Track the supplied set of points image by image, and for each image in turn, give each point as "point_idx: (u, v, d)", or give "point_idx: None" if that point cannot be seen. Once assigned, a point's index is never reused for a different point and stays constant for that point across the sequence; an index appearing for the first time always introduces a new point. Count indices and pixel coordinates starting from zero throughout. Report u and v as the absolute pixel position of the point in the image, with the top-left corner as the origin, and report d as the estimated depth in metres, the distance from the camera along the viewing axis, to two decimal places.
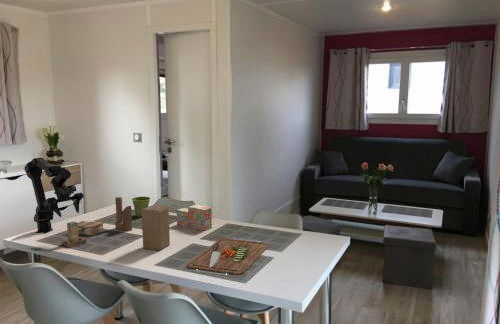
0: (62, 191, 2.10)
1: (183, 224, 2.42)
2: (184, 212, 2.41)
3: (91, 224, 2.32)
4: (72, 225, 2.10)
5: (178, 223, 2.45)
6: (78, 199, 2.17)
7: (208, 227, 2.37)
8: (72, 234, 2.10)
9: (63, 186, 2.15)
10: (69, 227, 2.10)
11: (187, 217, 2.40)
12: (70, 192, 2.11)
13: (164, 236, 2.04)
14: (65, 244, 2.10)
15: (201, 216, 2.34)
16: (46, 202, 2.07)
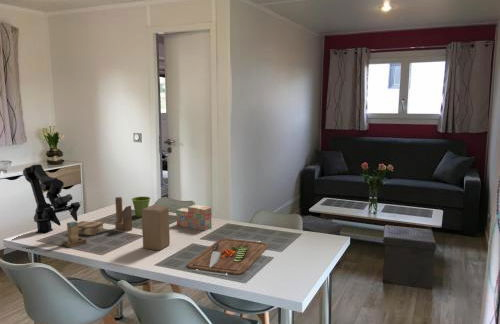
0: (58, 200, 2.12)
1: (183, 224, 2.43)
2: (184, 212, 2.41)
3: (91, 224, 2.32)
4: (72, 225, 2.10)
5: (178, 223, 2.45)
6: (75, 208, 2.19)
7: (208, 227, 2.37)
8: (72, 234, 2.10)
9: (59, 197, 2.18)
10: (69, 227, 2.10)
11: (187, 217, 2.40)
12: (66, 200, 2.13)
13: (164, 236, 2.04)
14: (65, 244, 2.10)
15: (201, 216, 2.34)
16: (44, 212, 2.09)
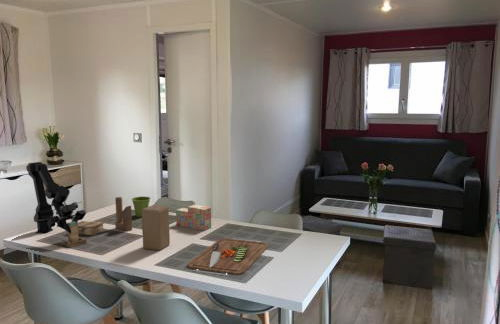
0: (64, 208, 2.10)
1: (182, 224, 2.43)
2: (183, 212, 2.41)
3: (91, 224, 2.32)
4: (72, 225, 2.10)
5: (177, 223, 2.45)
6: (76, 217, 2.15)
7: (208, 227, 2.37)
8: (72, 234, 2.10)
9: (64, 205, 2.15)
10: (69, 227, 2.10)
11: (186, 217, 2.40)
12: (72, 208, 2.11)
13: (164, 236, 2.04)
14: (65, 244, 2.10)
15: (201, 216, 2.34)
16: (49, 221, 2.07)
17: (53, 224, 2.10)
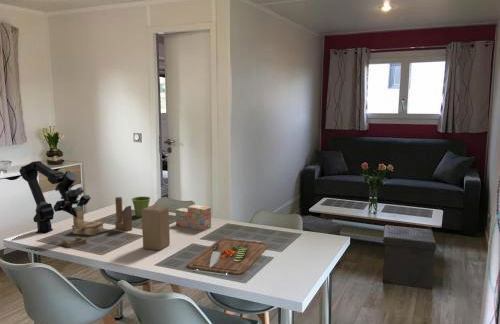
0: (70, 193, 2.15)
1: (182, 224, 2.43)
2: (183, 212, 2.41)
3: (91, 224, 2.32)
4: (78, 209, 2.15)
5: (177, 223, 2.45)
6: (81, 202, 2.20)
7: (207, 227, 2.37)
8: (78, 218, 2.15)
9: (69, 190, 2.20)
10: (75, 211, 2.15)
11: (186, 217, 2.40)
12: (78, 193, 2.15)
13: (164, 236, 2.04)
14: (65, 244, 2.10)
15: (201, 216, 2.34)
16: (56, 205, 2.11)
17: (59, 208, 2.15)
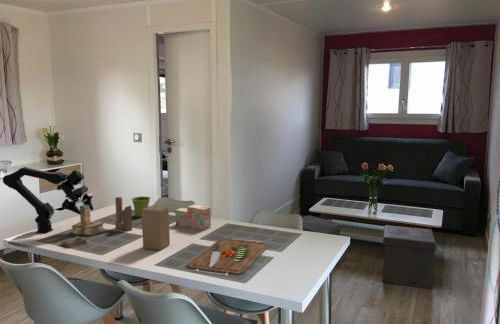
0: (77, 191, 2.26)
1: (182, 224, 2.43)
2: (183, 212, 2.41)
3: (91, 224, 2.32)
4: (86, 207, 2.28)
5: (177, 223, 2.45)
6: (90, 198, 2.35)
7: (207, 227, 2.37)
8: (86, 215, 2.28)
9: (74, 188, 2.31)
10: (82, 209, 2.27)
11: (186, 217, 2.40)
12: (84, 190, 2.28)
13: (164, 236, 2.04)
14: (65, 244, 2.10)
15: (201, 216, 2.35)
16: (65, 203, 2.21)
17: None
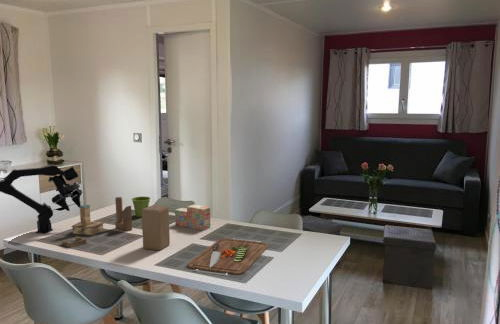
0: (69, 187, 2.31)
1: (181, 224, 2.43)
2: (183, 212, 2.41)
3: (91, 224, 2.32)
4: (86, 207, 2.28)
5: (176, 223, 2.45)
6: (79, 195, 2.39)
7: (207, 227, 2.37)
8: (86, 215, 2.28)
9: (66, 183, 2.35)
10: (82, 209, 2.27)
11: (186, 217, 2.40)
12: (76, 188, 2.33)
13: (164, 236, 2.04)
14: (65, 244, 2.10)
15: (200, 216, 2.35)
16: (56, 198, 2.25)
17: None
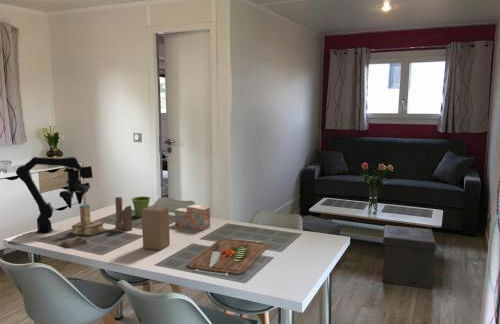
0: (80, 188, 2.34)
1: (181, 224, 2.43)
2: (182, 212, 2.41)
3: (91, 224, 2.32)
4: (86, 207, 2.28)
5: (176, 223, 2.45)
6: (84, 193, 2.43)
7: (207, 227, 2.37)
8: (86, 215, 2.28)
9: (78, 180, 2.37)
10: (82, 209, 2.27)
11: (185, 217, 2.40)
12: (86, 190, 2.36)
13: (164, 236, 2.04)
14: (65, 244, 2.10)
15: (200, 216, 2.35)
16: (65, 194, 2.28)
17: None
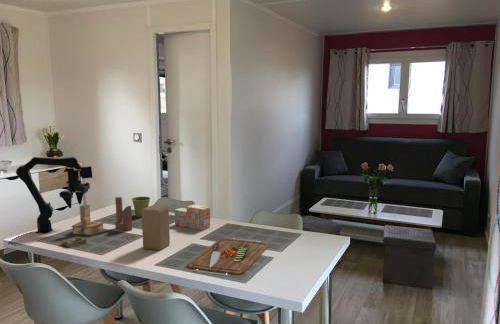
0: (80, 188, 2.34)
1: (181, 224, 2.43)
2: (182, 212, 2.41)
3: (91, 224, 2.32)
4: (86, 207, 2.28)
5: (176, 223, 2.45)
6: (84, 193, 2.43)
7: (207, 227, 2.37)
8: (86, 215, 2.28)
9: (78, 180, 2.37)
10: (82, 209, 2.27)
11: (185, 217, 2.40)
12: (86, 190, 2.36)
13: (164, 236, 2.04)
14: (65, 244, 2.10)
15: (200, 216, 2.35)
16: (65, 194, 2.28)
17: None
